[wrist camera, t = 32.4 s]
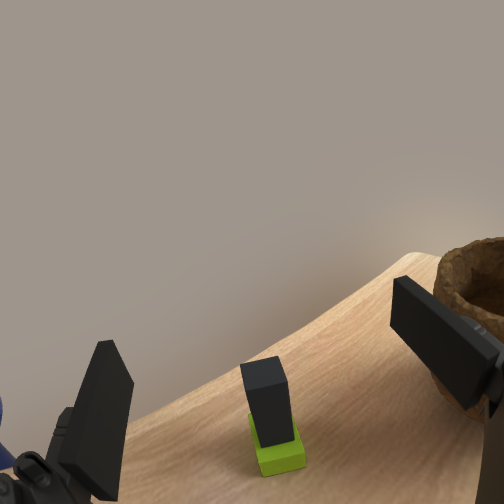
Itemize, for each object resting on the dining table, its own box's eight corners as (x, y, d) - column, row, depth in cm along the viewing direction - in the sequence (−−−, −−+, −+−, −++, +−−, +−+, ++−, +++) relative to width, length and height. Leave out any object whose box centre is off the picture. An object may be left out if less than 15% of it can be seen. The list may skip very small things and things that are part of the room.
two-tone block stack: (306, 467, 23) (300, 393, 19) (263, 477, 22) (240, 407, 18) (290, 421, 28) (279, 342, 24) (252, 430, 28) (231, 353, 24)
